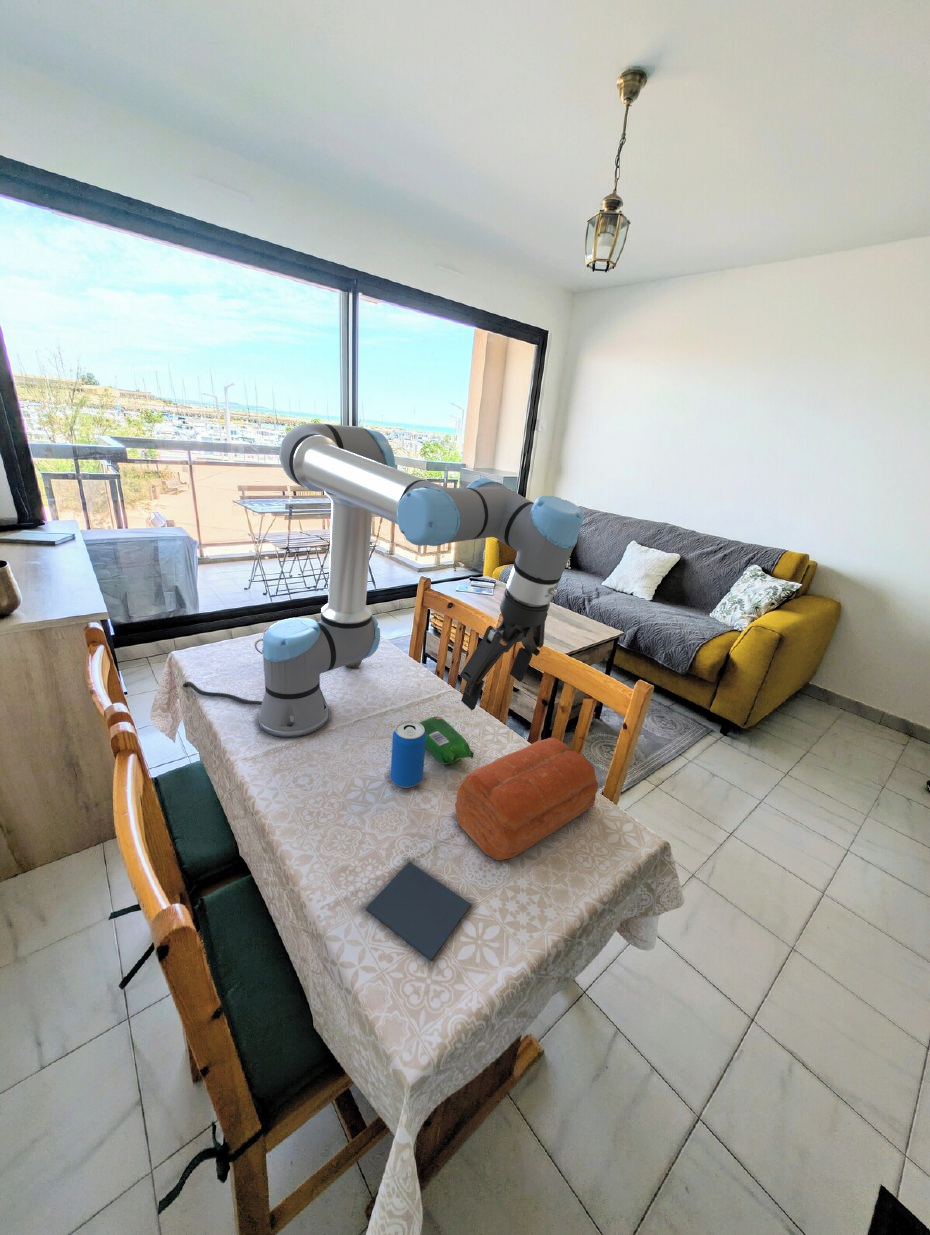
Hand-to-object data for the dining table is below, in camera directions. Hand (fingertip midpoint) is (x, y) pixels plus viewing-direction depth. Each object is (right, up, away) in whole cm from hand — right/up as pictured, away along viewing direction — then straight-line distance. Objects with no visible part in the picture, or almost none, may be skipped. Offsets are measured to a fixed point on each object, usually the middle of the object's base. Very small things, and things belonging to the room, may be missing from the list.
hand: (493, 690), depth 86 cm
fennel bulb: (-38, -1, +49) cm, 62 cm away
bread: (+6, -24, +4) cm, 25 cm away
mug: (-57, 0, +45) cm, 73 cm away
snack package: (-11, -16, +18) cm, 27 cm away
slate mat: (-12, -30, -17) cm, 36 cm away
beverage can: (-17, -19, +8) cm, 27 cm away
